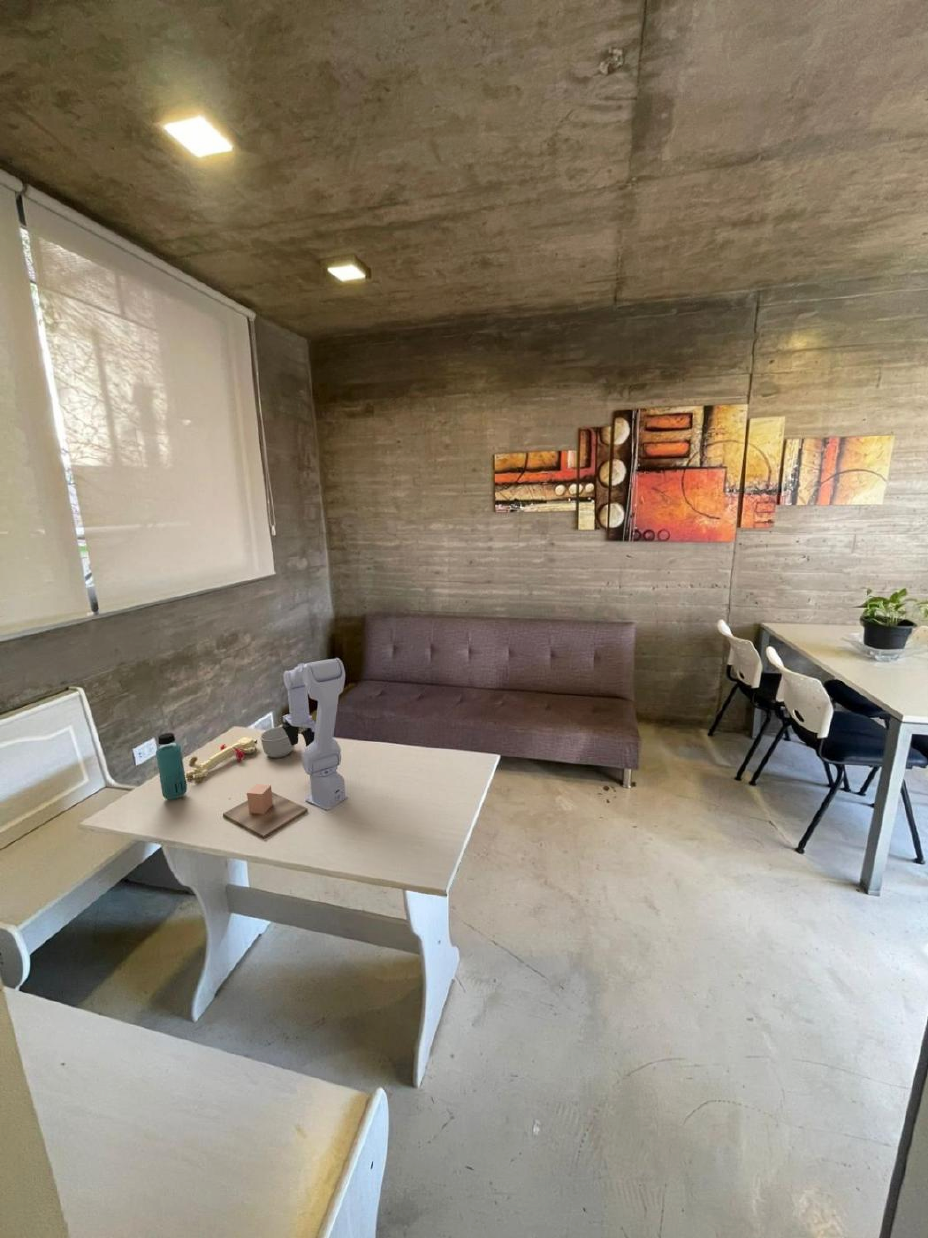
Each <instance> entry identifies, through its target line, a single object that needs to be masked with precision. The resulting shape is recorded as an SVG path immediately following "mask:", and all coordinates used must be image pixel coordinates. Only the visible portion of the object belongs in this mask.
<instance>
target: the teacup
mask: <svg viewBox="0 0 928 1238" xmlns="http://www.w3.org/2000/svg"><path fill="white" fill-rule="evenodd" d="M282 725H283V724H279V726H276V727H272V728H270V729H267V730H265V731H263V732H262V733H261V734H260V737H259V738H260V741H261V746H262V750H263V753H264V754H265V755H266V756H268V757H271V758H274V759H277V758H282V757H283V758H284V757H285V756H288V755H289V754H290V753H291V752H292V751H293V749H294V748H295V745H293V746H292V745H291V743H290V741H289V738H288V736H287V734H286V732H285V731H284V729H283V728H282Z"/></svg>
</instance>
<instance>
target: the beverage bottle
mask: <svg viewBox="0 0 928 1238" xmlns="http://www.w3.org/2000/svg"><path fill="white" fill-rule="evenodd" d="M175 741H176V737H175V734H174V733H173V732H166V733H162V734H160V735H158V741H157V743H158V745H160V746H159V747H158V748H157V749H156V751H155V755H156V761H157V768H158V772H159V782H160V788H161V795H162V797H163V798H164V799H167V800H173V799H174V800H175V799H177V798H180V797H182V796H184V795H185V794H186V793H187V789H188V784H187V778H186V774H185V773H186V772H185V768H184V767H185V764H184V759H183V753H182V749H181V745H180V744H178V743H176V742H175Z"/></svg>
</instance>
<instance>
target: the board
mask: <svg viewBox="0 0 928 1238" xmlns="http://www.w3.org/2000/svg"><path fill="white" fill-rule="evenodd" d="M272 800H273V805H272V806H271V807H270V808H269V809H268V811H267V812H266V813H265V814H259V813H249V807H248V799H247V800H246V801H244V802H242V803H240V804H238V805H236V806H235V807H233V808H231V809H229V810H227V811H225V812H223V813H222V818H225V819H226V820H228V821H230V822H232V823H234V824H235V825H236V826H239V827H240V828H243V829H244V830H246V831H248V832H249V833H252V834H253V835H256V836H257V837H259V838H261V839H263V840H265V839H266V838H268V837H270V836H271V835H273V834H274V833H276V832H278V831H279V830H281V829H283V828H284V827H286V826H288V825H289V824H291V823H292V822H293V821H296V820H297V819H298V818H300V817H302V816H303V815H305V814H306V813H308V812H309V809H308V808H307V807H306V806H303V805H301V804H299V803H296V802H295V801H293V800H290V799H289V798H286V797H283V796H282V795H279V794H277V793H275V792H273V791H272Z"/></svg>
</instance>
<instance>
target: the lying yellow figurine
mask: <svg viewBox="0 0 928 1238" xmlns="http://www.w3.org/2000/svg"><path fill="white" fill-rule="evenodd" d="M257 744H259V743H258V739H255V738H251V737H246V736H244V737H242V738H240V739H238V740H237V741H236V742H234V743H233V744H231V745H230V746H226V743H224V744H222V745H221V746H220V751H218V752H217V753H215V754H213V755H212V756H210V757H208V758H207V759H206V760H205V761H202V762H201V763H200V764H198V763H196V762H197V761H198V757H197V756H195V755H193V756H191V758H190V760H189V764H188V765H189V767H190V768H193V769H192V770H188V771H187V772H186V771H185V773H186V774H185V777H186V778H185V779H187V780H189V781H191V780H193V781H194V782H195V783H200V782H201V781H202V777H203V778H205V777H206V776H208V775H209V772H210V771H212V770H213V769H215V768H216V767H217V766H218V765H220V764H221V763H223V762H224V761H226V760H228V759H229V758H230V759H231V758H232V757H233V756H236V755H237V758H238V759H237V761H236V762H239V763H240V762H241V761H242V759H243V758H244V757H245V756H246V754H247V755H248V754H252V753H254V751H256V747H257Z"/></svg>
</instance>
